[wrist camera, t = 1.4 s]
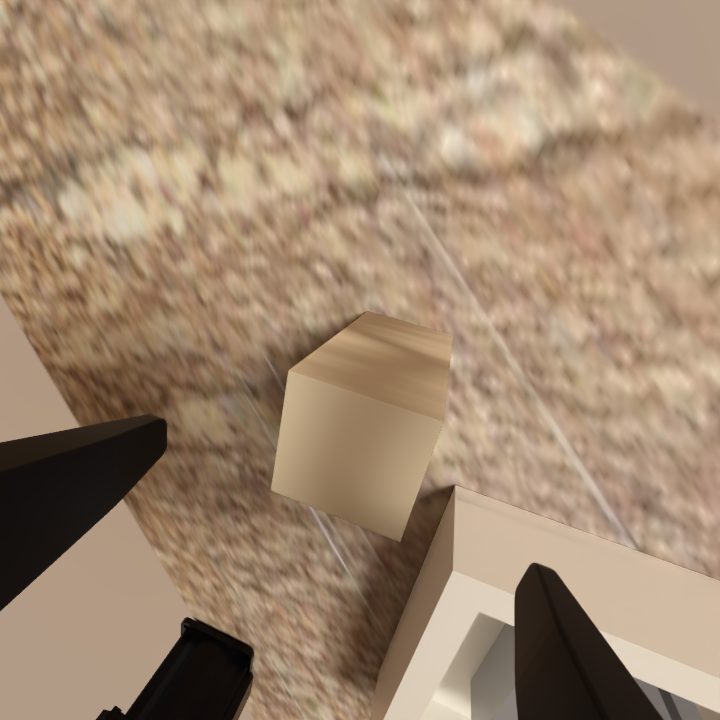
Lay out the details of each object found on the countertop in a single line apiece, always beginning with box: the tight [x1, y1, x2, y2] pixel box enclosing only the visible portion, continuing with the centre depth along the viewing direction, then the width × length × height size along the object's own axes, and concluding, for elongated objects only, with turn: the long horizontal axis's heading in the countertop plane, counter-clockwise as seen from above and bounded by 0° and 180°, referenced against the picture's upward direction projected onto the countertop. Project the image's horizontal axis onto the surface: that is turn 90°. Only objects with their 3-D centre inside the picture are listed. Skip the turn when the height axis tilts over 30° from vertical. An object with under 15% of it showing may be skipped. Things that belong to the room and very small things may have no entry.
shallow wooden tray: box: [370, 485, 720, 720], centre depth 17 cm, size 17×17×5 cm
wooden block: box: [271, 311, 453, 542], centre depth 13 cm, size 4×4×8 cm
